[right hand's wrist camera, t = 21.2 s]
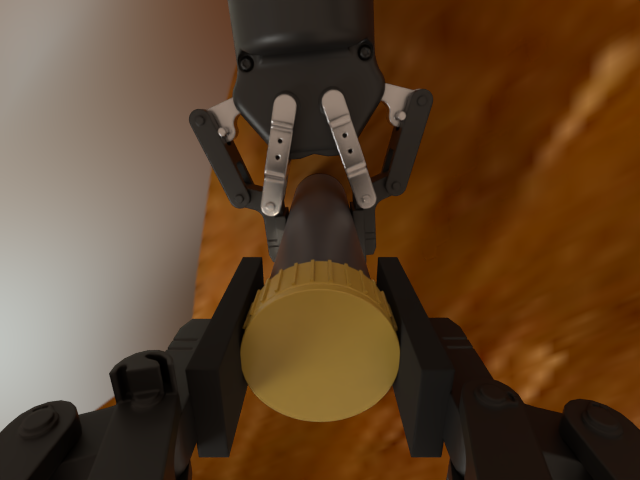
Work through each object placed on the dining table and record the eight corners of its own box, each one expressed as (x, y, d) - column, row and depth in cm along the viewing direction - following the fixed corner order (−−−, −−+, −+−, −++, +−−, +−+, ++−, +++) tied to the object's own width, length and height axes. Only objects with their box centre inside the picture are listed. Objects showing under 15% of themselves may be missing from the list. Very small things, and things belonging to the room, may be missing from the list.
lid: (409, 276, 12) (426, 307, 10) (368, 390, 13) (376, 436, 11) (263, 243, 11) (252, 269, 9) (239, 365, 13) (225, 408, 11)
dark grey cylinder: (299, 168, 28) (263, 272, 10) (350, 178, 28) (401, 296, 11) (290, 218, 29) (246, 385, 12) (339, 227, 30) (369, 403, 12)
